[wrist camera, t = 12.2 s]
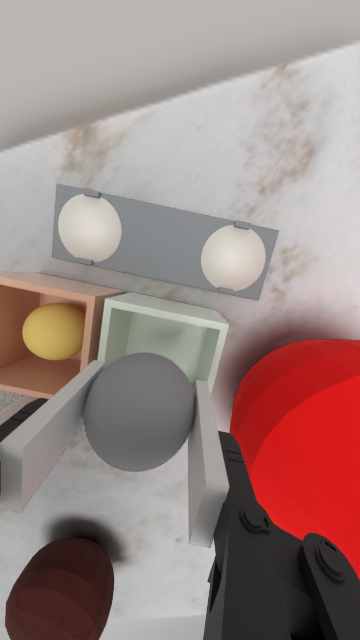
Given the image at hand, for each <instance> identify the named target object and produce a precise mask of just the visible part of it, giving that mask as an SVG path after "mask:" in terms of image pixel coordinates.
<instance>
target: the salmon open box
mask: <svg viewBox="0 0 360 640" xmlns="http://www.w3.org/2000/svg"><path fill="white" fill-rule="evenodd" d="M124 293H125V291H123V290H118V289H113V288H108V287H103V286H99V285H94V284H89V283H84V282H79V281H75V280H70V279H65V278H60V277H55V276H51V275H46V274H41V273H21V272H0V390H3V391H8V392H12V393H17V394H22V395H27V396H32V397H37V398H46V399H50V398H52V397H53V396H54V395H55V394H56V393H57V392H58V391H59V390H61V389H62V388H63V387H64V386H65V385H66V384H67V383H69V382H70V381H71V380H72V379H73V378H74V377H75V376H76V375H78V374H79V373H80V372H81V371H82V370H83V369H84V368H86V367H87V366H88V365H89V364H90V363H91V362H92V361H94V360H98V351H99V343H100V335H101V327H102V319H103V311H104V303H105V299H106V298H110V297H114V296H118V295H122V294H124ZM49 303H66V304H69V305H72V306H74V307H76V308H78V309H79V310H80V311H81V312H83V314H84V315H85V316H86V318H85V327H84V337H83V346H82V350H81V351H80V352H79V353H77V354H76V355H74V356H72V357H70V358H67V359H63V360H47V359H44V358H41V357H39V356H37V355H35V354H34V353H32V352H31V351H30V350H29V349H28V347H27V346H26V344H25V342H24V339H23V325H24V323H25V320H26V319H27V317H28V316H29V315H30V313H32V312H33V311H34V310H35V309H37V308H38V307H40V306H43V305H46V304H49Z"/></svg>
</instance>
